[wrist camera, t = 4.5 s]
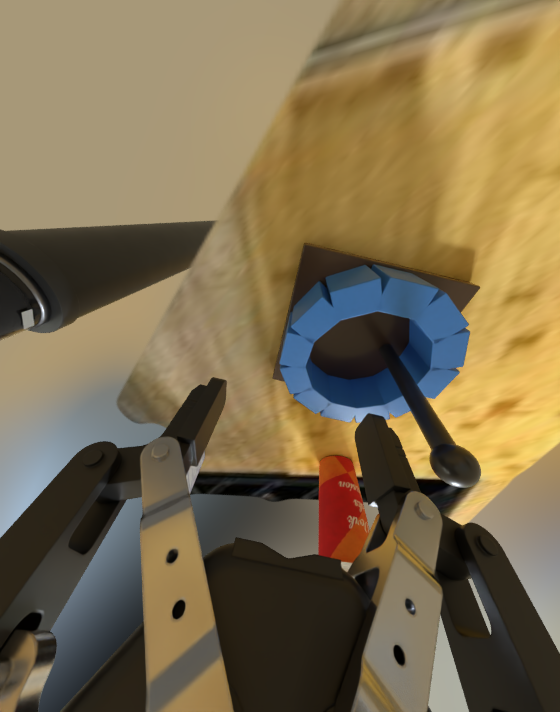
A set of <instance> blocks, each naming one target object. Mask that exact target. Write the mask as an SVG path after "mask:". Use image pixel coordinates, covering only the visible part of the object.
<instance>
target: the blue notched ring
mask: <svg viewBox="0 0 560 712" xmlns="http://www.w3.org/2000/svg"><path fill="white" fill-rule="evenodd" d="M326 283H327V288H328V289H327V288H326V287H325V286H324V285H323V284H322V283H321V282H320V281H318V282H317V283H316V284H315V285H314V287H313V288H312V289H311V290H310V291H309V292H308V293H307V294H306V295H305V296H304V297H303V298H302V299H301V300H300V301H299V302H298V303H297V304H296V305H295V306H294V308H293V312H290V316H289V320H288V324H287V328H286V332H285V337H284V341H283V346H282V351H281V357H280V362H279V364H281V365H280V371H281V373H282V376H283V378H284V380H285V383H286V385H287V387H288V390H289V392H290V394H294V397H293V398H294V399H296V400H297V401H299V402H300V403H301V404H303V405H304V406H305V407H307V408H308V409H310V410H311V411H312V412H314V413H315V414H317V413H318V412H320V414H321V416H323V417H328V418H332V419H337V420H341V421H346V422H351V421H352V419H353V418H354V417H355V421H356V423H359V422H362V420H363V419H364V417H365V416H366V415H367V414H368V413H370V414H375V415H379V416H383V417H384V418H385V420H387V419H390V417H389V412H390V413H391V414H392V415H393V416H394V417H398V416H400V415H403V414H405V413H407V412H409V411H411V410H410V408H409V407H408V405H407V403H406V401H405V399H404V397H403V395H402V393H401V392H400V390H399V388H398V386H397V384H396V382H395V380H394V378H393V377H392V375H391V373H390V371H389V369H388V367H387V368H386V369H384V370H382V371H381V372H379V373H377V374H376V375H374V376H370V377H364V378H358V379H352V380H347V379H343V378H338V377H334V376H330V375H327V374H326V373H324V372H323V371H322V370H321V369H320V368H318V367H317V366H316V365H315V364H314V363H312V361H311V358H310V353H311V350H312V347H313V344H314V342H315V341H316V340H317V339H319V338H320V337H321V336H322V335H323V334H325V333H326V332H327V331H328V330H330V329H331V328H332V327H333V326H334V325H336V324H337V323H338V322H339V321H340V320H344V319H348V318H352V317H356V316H360V315H365V314H369V313H373V312H377V311H379V312H383V313H387V314H392V315H396V316H400V317H404V318H409V319H410V322H409V343H408V345H407V346H406V348H405V349H404V351H403V352H402V354H401V355H400V357H399V358H400V359H401V361H402V362H403V364H404V365H405V367H406V368H407V370H408V372H409V373H410V375H411V376H412V378H413V379H414V381H415V382H416V384H417V385H418V387H419V388H420V390H421V392H422V393H423V395H424V396H425V398H426V397H428V398H432V399H435V398H436V397H437V396H438V395H439V394H440V393H441V391H442V390H443V389H444V388H445V387H446V386H447V385H448V384H449V383H450V382H451V381H452V380H453V379H454V378H455V377H456V376H457V375H458V374H459V373H460V372H459V371H458V370H457V369H456V368H457V367H463V365H464V360H465V355H466V350H467V345H468V340H469V335H470V331H469V330H467V329H466V328H465V327H467V326H468V325H469V324H468V322H467V321H466V320H465V318H464V317H463V315H462V314H461V313H460V311H459V310H458V308H457V307H456V306H455V304H454V303H453V301H452V300H451V299H450V297H449V296H448V294H447V293H445V292H444V291H442V290H440V289H439V288H437V287H435V286H434V285H432V284H430V283H428V282H426V281H425V280H423V279H421V278H419V277H417V276H415V275H414V274H412V273H408V272H404V271H400V270H396V269H392V268H387V267H383V266H379V265H375V264H373V266H372V268H371V269H370V268H369V267H367V266H366V265H363V266H359V267H356V268H353V269H350V270H347V271H343V272H340V273H337V274H334V275H330V276H327V277H326ZM427 401H428V400H427Z"/></svg>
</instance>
